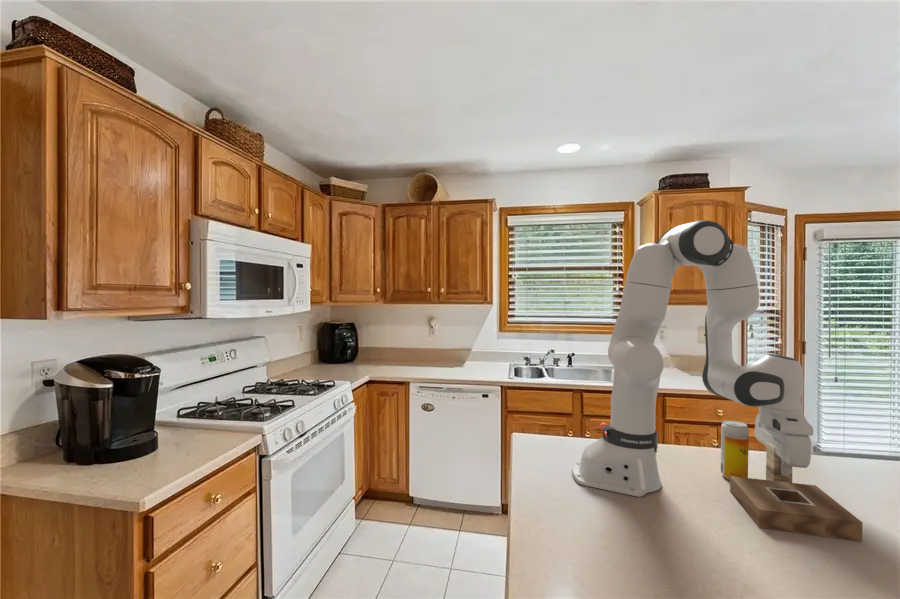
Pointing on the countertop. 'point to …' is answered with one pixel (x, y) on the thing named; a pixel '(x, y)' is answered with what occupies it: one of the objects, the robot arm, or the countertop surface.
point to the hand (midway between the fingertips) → (778, 469)
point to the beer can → (734, 449)
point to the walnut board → (794, 508)
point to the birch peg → (775, 466)
